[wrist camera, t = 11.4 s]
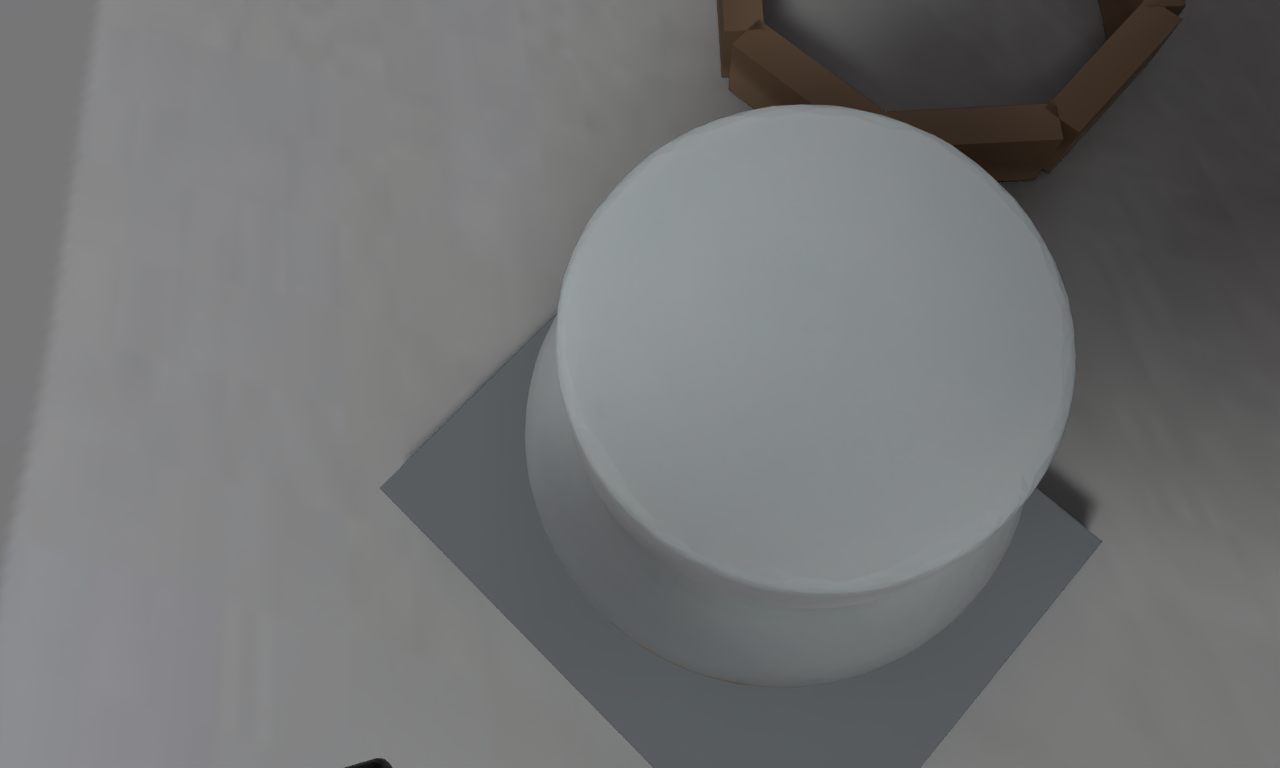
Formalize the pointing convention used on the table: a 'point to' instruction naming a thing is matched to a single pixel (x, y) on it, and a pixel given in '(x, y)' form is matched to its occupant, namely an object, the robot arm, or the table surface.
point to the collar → (991, 136)
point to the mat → (681, 699)
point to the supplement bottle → (797, 394)
